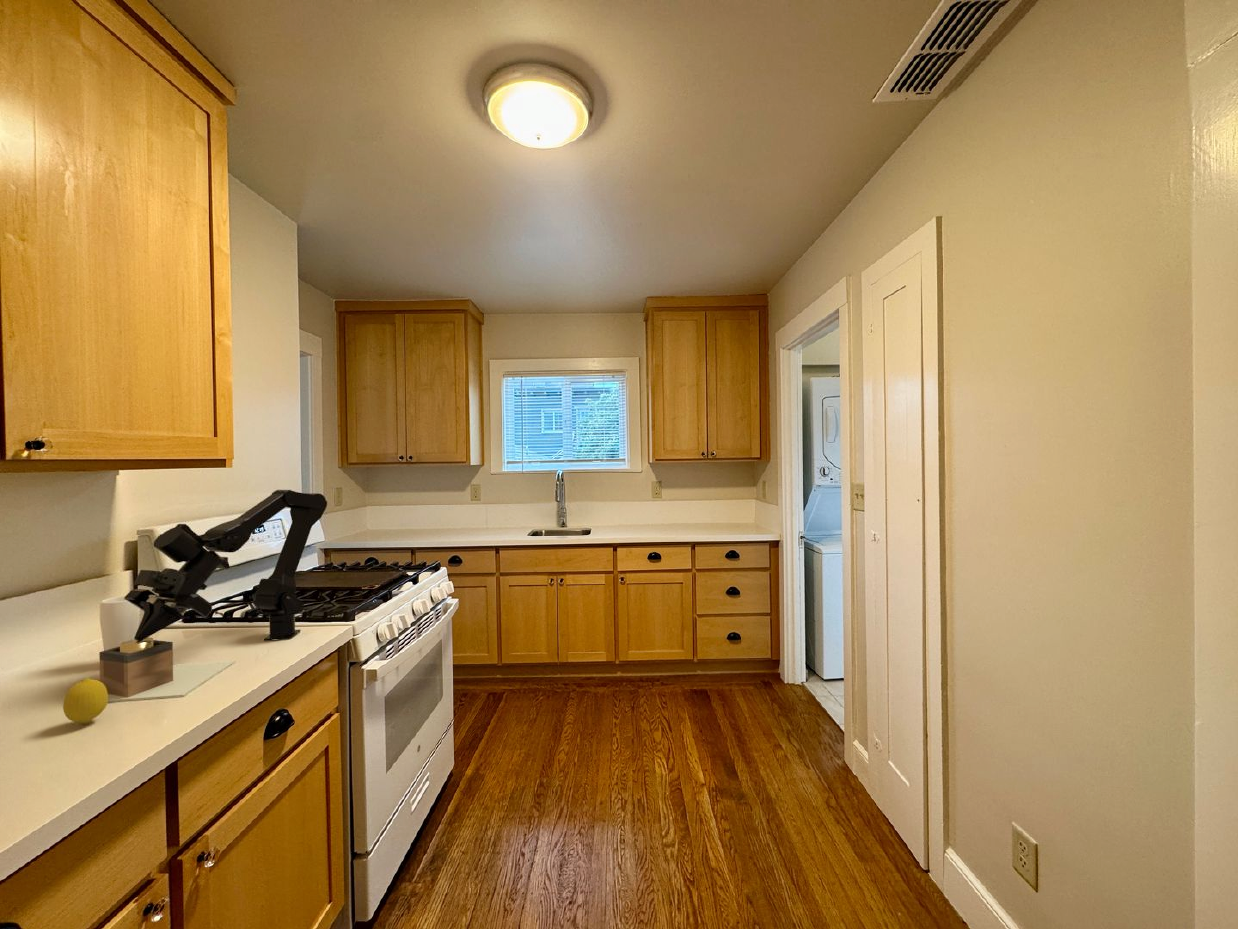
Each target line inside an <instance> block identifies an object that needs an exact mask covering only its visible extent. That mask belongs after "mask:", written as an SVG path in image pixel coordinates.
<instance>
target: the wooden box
mask: <svg viewBox="0 0 1238 929" xmlns="http://www.w3.org/2000/svg"><path fill="white" fill-rule="evenodd" d="M173 647H174V643H173V642H172V641H165V640H157V639H153V647H150V648H146V649H143V650H140V651H136V652H133V653H124V652H120V646H119V647H116V648H112V649H109V650H105V651H104V650H102V651H99V654H98V655H99V681H100V682H102V683H103V684H104V685H105V687H106V689H107V693H108V694H110V695H117V696H123V697H131V696H133V695H136V694H139V693H141V692H144V691H147V690H150V689H152V688H155V687H158V686H160V685H163V684H166V683H169V682H171V681H173V665H174V655H173V654H174V650H173V649H174V648H173Z"/></svg>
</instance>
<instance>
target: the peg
mask: <svg viewBox="0 0 1238 929" xmlns="http://www.w3.org/2000/svg"><path fill="white" fill-rule="evenodd" d="M153 640H154V638H153V637H147V638H145V639H144V640H142V641H137V640H135V639H133V640H129V641H125V642H123V643H121V644H120V652H124V653H133V652H136V651H140V650H143V649H146V648H150V647H153Z"/></svg>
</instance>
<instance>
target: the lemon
mask: <svg viewBox="0 0 1238 929" xmlns="http://www.w3.org/2000/svg"><path fill="white" fill-rule="evenodd" d="M107 701H108V693H107V689H106V687H105V685H104V684H103V683H102V682H100V680H97V679H90V678H89V677H88V678H83V679H82V680H81V681H79V682H77V683H75V684H73V686H71V687H70V688H69V689H68V691H67V692H66V694H65V696H64V699H63V704H62V706H63V707H62V708H63V714H64V715H65V717H66V718H67V719H68V720H69V721H72V722H73V723H81V724H82V725H88V724H89V723H91V721H92V720H93V719H95V718H97V717H98V716H100V715H101V714H102V712H103V711H104V710H105V708H106V707H107V704H108V702H107Z"/></svg>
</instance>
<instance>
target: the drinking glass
mask: <svg viewBox="0 0 1238 929" xmlns="http://www.w3.org/2000/svg"><path fill="white" fill-rule="evenodd" d="M125 596H126V595H122V596H121V595H120V596H115V597H109V598H105V599H103V600H101V601H100V602H99V623H100V631H101V632H100V633H101V638H102V646H103V651H105V650H109V649H112V648H116V647H119V646H120V644H121V643H123V642H125V641H129V640H133V639H134V637H135V635H136V632H137V630H138V628H139V625H140V623H141V609H140V608H138V607H137V606H135V605H133V604H132V603H130V602H129V601H127V600H125V599H124V597H125Z"/></svg>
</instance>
